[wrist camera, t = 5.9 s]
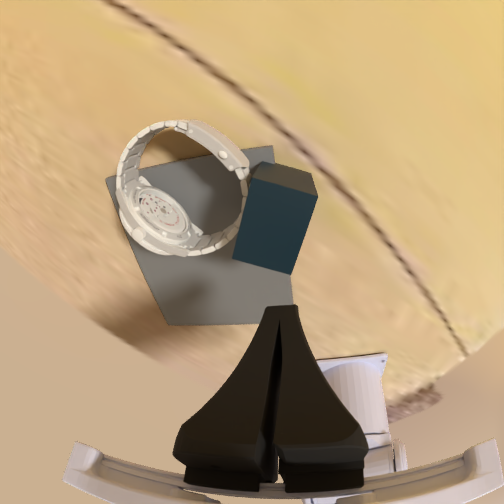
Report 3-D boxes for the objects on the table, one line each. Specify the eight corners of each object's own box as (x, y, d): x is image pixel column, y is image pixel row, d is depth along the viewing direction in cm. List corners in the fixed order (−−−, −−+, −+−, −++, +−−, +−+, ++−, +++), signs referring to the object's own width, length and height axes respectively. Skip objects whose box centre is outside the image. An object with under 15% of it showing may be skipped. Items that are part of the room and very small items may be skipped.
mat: (294, 318, 25) (294, 321, 25) (169, 322, 28) (168, 325, 27) (272, 145, 17) (272, 146, 17) (107, 177, 19) (105, 179, 19)
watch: (283, 258, 21) (139, 218, 21) (318, 147, 17) (154, 110, 17) (279, 305, 16) (98, 251, 16) (330, 160, 12) (107, 112, 12)
